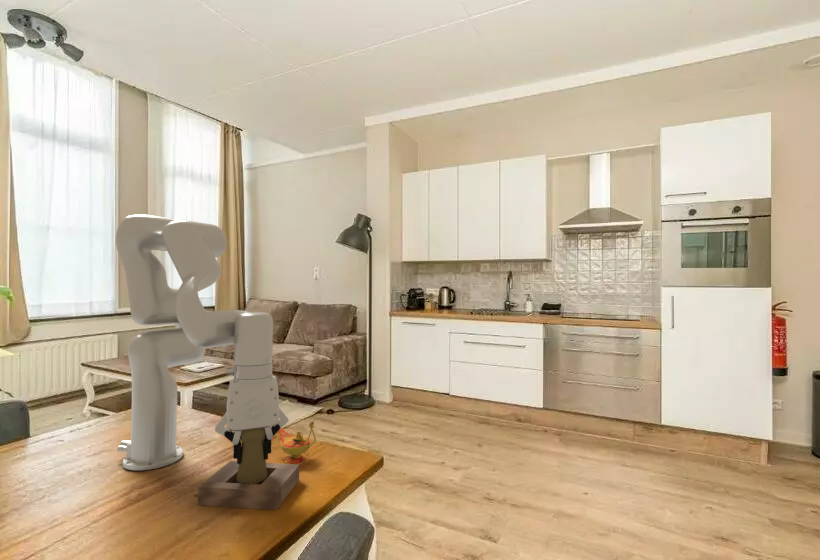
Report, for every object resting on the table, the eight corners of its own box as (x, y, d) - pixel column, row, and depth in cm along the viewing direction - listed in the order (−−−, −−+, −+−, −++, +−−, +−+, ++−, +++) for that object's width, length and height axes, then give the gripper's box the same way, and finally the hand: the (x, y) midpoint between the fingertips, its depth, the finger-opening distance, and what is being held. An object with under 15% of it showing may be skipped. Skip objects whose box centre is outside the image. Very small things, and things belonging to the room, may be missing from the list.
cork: (257, 485, 82) (257, 430, 82) (230, 482, 83) (230, 428, 83) (273, 472, 88) (273, 420, 88) (247, 469, 89) (248, 418, 89)
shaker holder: (197, 504, 80) (197, 486, 80) (230, 476, 92) (230, 460, 92) (276, 510, 79) (276, 491, 79) (299, 480, 91) (299, 464, 91)
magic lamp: (282, 445, 110) (283, 404, 110) (326, 463, 99) (327, 418, 99) (259, 453, 105) (260, 410, 105) (303, 473, 94) (303, 425, 94)
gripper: (207, 378, 79) (206, 474, 78) (297, 371, 86) (296, 459, 85) (209, 371, 86) (207, 459, 85) (292, 365, 93) (291, 446, 92)
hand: (252, 458), depth 85 cm, fingers closed on cork, 4 cm apart
